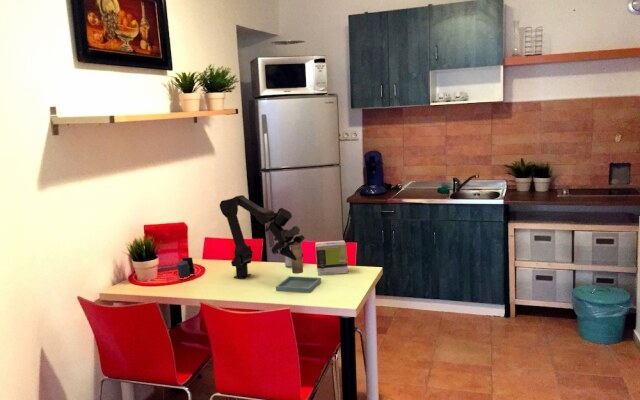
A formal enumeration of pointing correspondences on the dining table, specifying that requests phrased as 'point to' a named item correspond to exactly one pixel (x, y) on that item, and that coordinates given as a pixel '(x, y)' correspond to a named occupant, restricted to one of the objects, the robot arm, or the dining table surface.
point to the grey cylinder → (288, 261)
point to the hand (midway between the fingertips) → (299, 258)
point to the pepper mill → (297, 258)
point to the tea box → (331, 257)
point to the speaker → (185, 267)
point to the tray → (298, 284)
